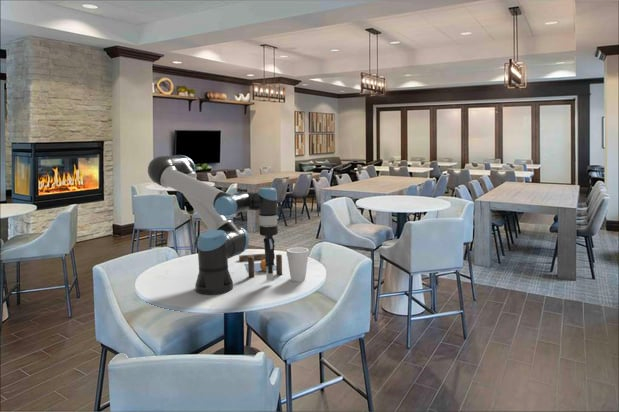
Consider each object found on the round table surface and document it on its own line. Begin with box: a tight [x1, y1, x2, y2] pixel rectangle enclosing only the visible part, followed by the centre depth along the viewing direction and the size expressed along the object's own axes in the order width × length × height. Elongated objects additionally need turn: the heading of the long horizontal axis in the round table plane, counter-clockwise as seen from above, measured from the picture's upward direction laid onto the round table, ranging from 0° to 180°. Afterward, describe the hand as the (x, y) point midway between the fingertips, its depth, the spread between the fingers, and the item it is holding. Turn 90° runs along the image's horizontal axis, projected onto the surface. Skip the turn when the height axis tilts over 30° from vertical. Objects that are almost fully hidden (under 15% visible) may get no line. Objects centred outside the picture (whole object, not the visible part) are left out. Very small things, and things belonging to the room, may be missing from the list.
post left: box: [247, 256, 255, 279], centre depth 199 cm, size 3×3×9 cm
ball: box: [259, 259, 266, 272], centre depth 209 cm, size 6×6×6 cm
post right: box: [275, 253, 283, 276], centre depth 202 cm, size 3×3×9 cm
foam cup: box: [286, 247, 310, 282], centre depth 195 cm, size 10×9×13 cm
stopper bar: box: [238, 253, 276, 262], centre depth 229 cm, size 18×2×2 cm, turn 104°
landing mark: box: [244, 262, 276, 273], centre depth 215 cm, size 14×14×1 cm
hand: (270, 280), depth 189 cm, fingers closed
